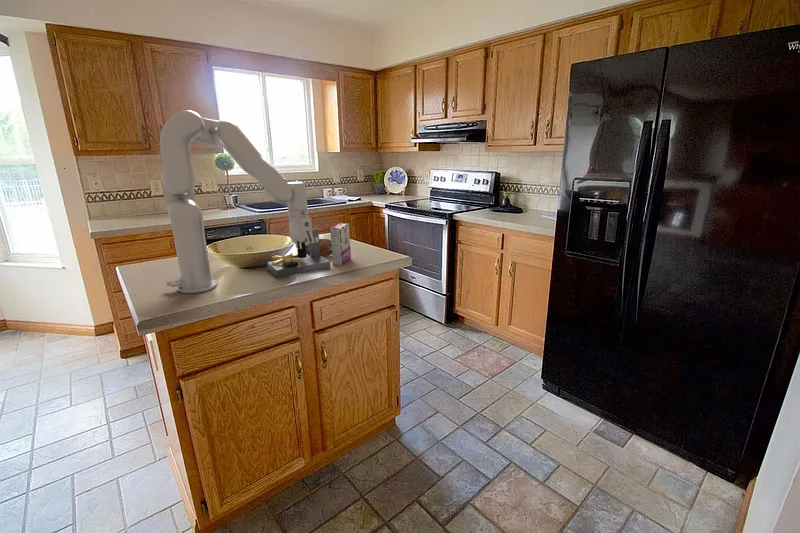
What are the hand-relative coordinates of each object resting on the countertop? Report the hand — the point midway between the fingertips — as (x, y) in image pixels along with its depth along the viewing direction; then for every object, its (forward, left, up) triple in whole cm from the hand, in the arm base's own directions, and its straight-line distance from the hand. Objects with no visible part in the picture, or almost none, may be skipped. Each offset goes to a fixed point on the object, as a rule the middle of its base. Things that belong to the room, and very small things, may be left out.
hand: (302, 257), depth 156 cm
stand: (-2, +1, -5) cm, 5 cm away
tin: (+13, +16, -5) cm, 21 cm away
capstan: (-7, -1, -2) cm, 7 cm away
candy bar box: (+17, 0, -5) cm, 18 cm away
